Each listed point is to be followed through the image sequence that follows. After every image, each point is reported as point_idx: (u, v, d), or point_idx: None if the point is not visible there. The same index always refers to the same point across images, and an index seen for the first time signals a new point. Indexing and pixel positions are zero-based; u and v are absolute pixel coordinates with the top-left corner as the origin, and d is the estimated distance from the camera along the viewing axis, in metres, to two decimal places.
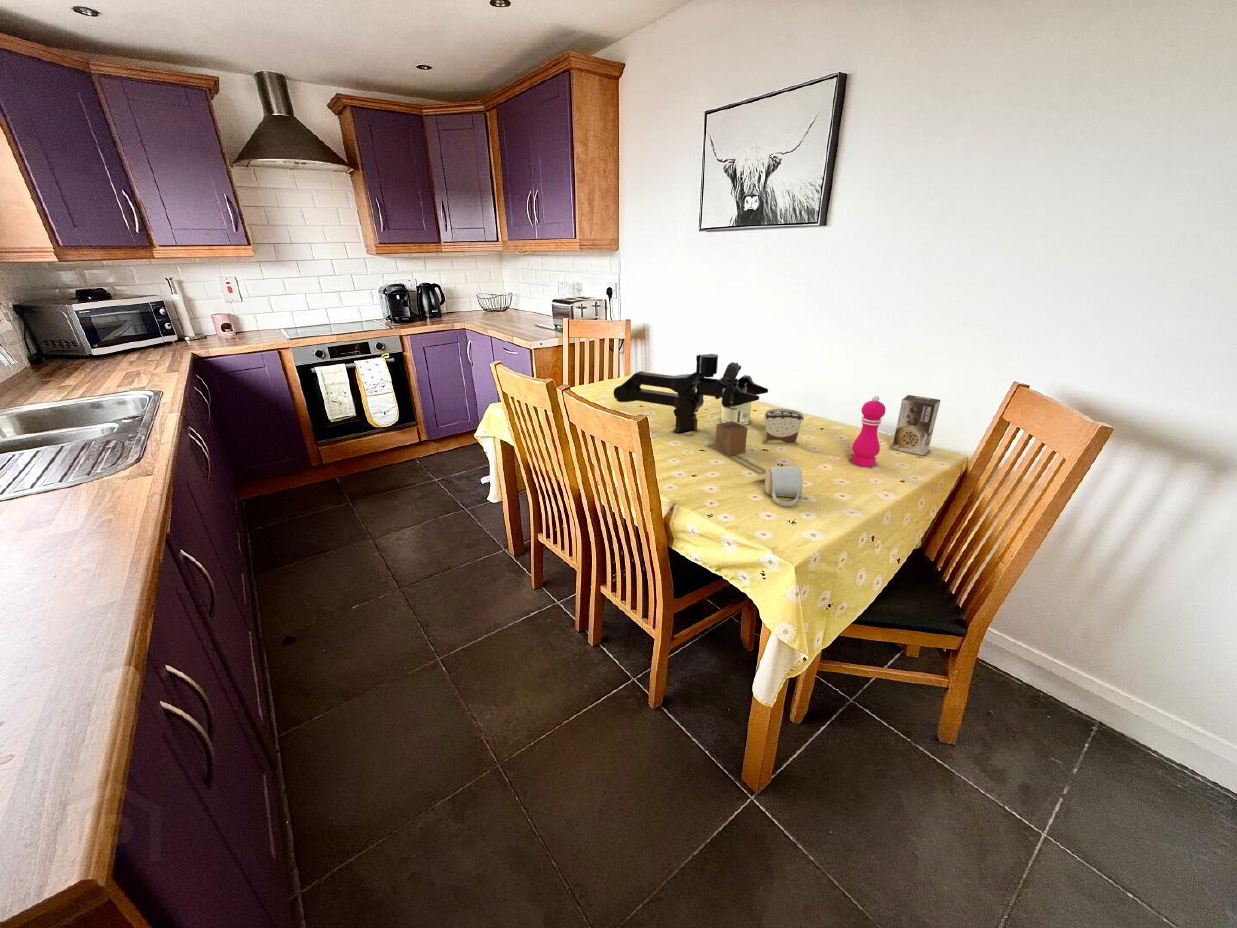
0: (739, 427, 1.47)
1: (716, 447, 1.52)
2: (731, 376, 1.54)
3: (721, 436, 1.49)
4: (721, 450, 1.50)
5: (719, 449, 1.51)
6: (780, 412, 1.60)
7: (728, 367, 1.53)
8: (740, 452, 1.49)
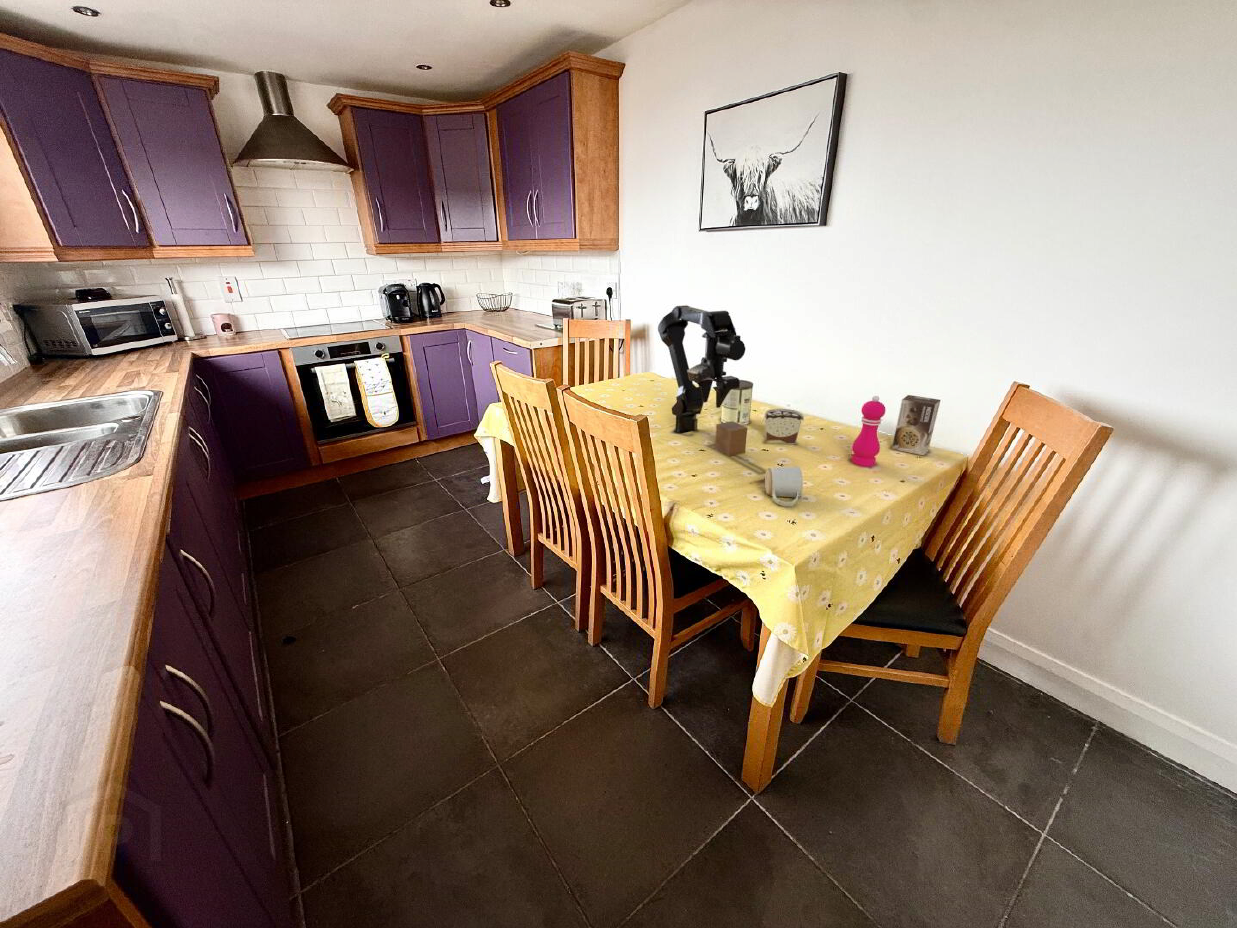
0: (739, 427, 1.47)
1: (716, 447, 1.52)
2: None
3: (721, 436, 1.49)
4: (721, 450, 1.50)
5: (719, 449, 1.51)
6: (780, 412, 1.60)
7: None
8: (740, 452, 1.49)
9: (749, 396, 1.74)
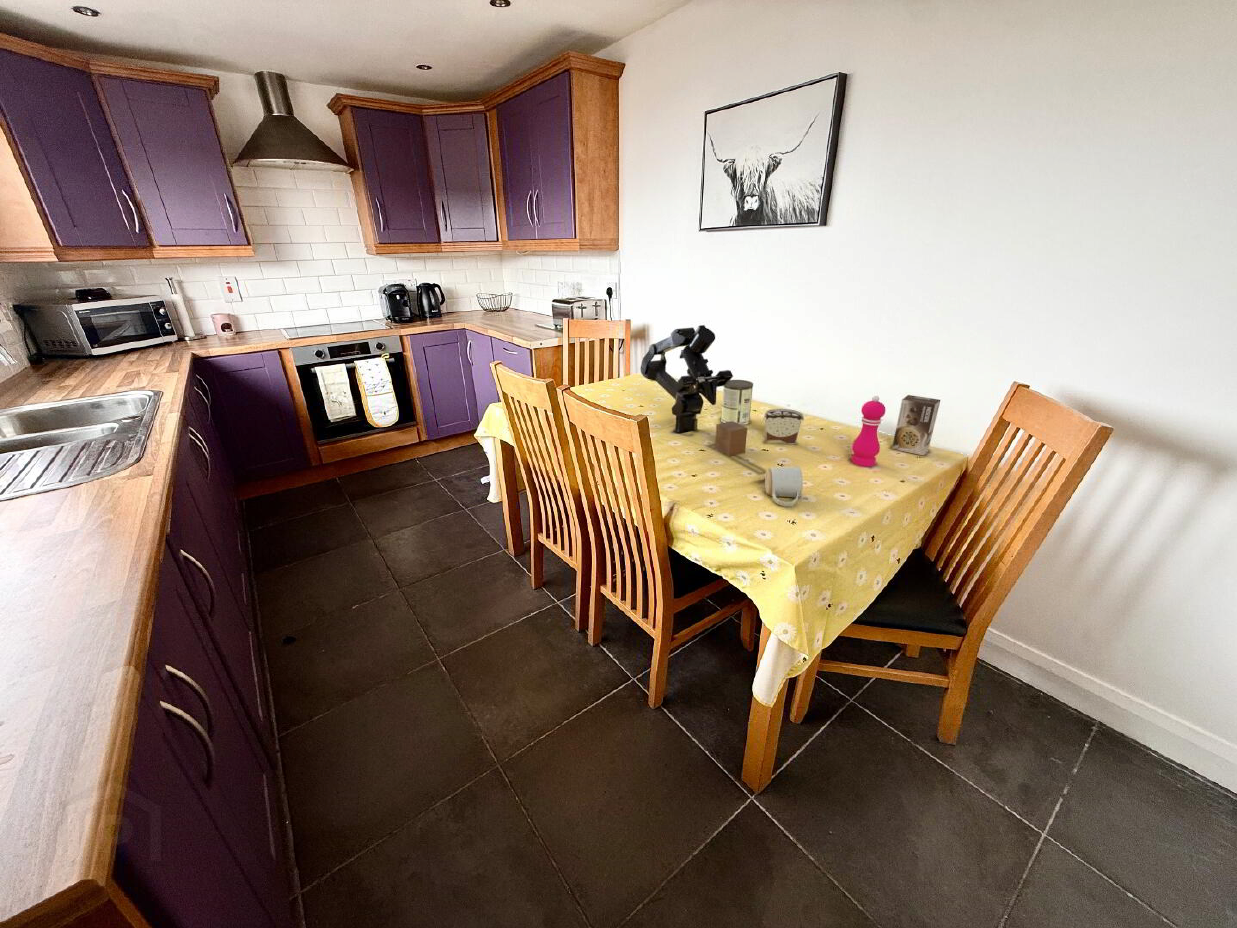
0: (739, 427, 1.47)
1: (716, 447, 1.52)
2: None
3: (721, 436, 1.49)
4: (721, 450, 1.50)
5: (719, 449, 1.51)
6: (780, 412, 1.60)
7: None
8: (740, 452, 1.49)
9: (749, 396, 1.74)
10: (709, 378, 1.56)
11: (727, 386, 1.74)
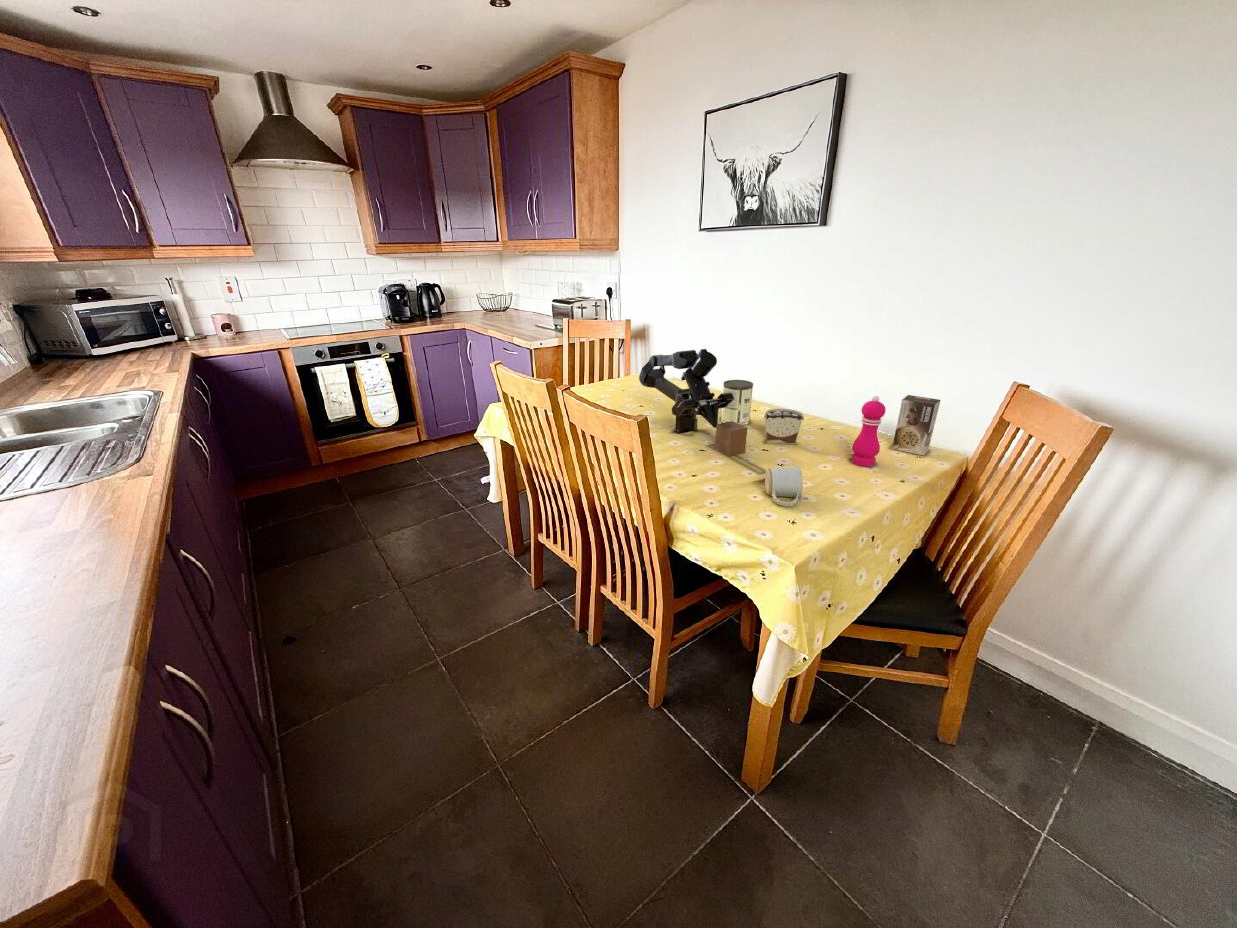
0: (739, 427, 1.47)
1: (716, 447, 1.52)
2: None
3: (721, 436, 1.49)
4: (721, 450, 1.50)
5: (719, 449, 1.51)
6: (780, 412, 1.60)
7: None
8: (740, 452, 1.49)
9: (749, 396, 1.74)
10: (711, 401, 1.58)
11: (727, 386, 1.74)
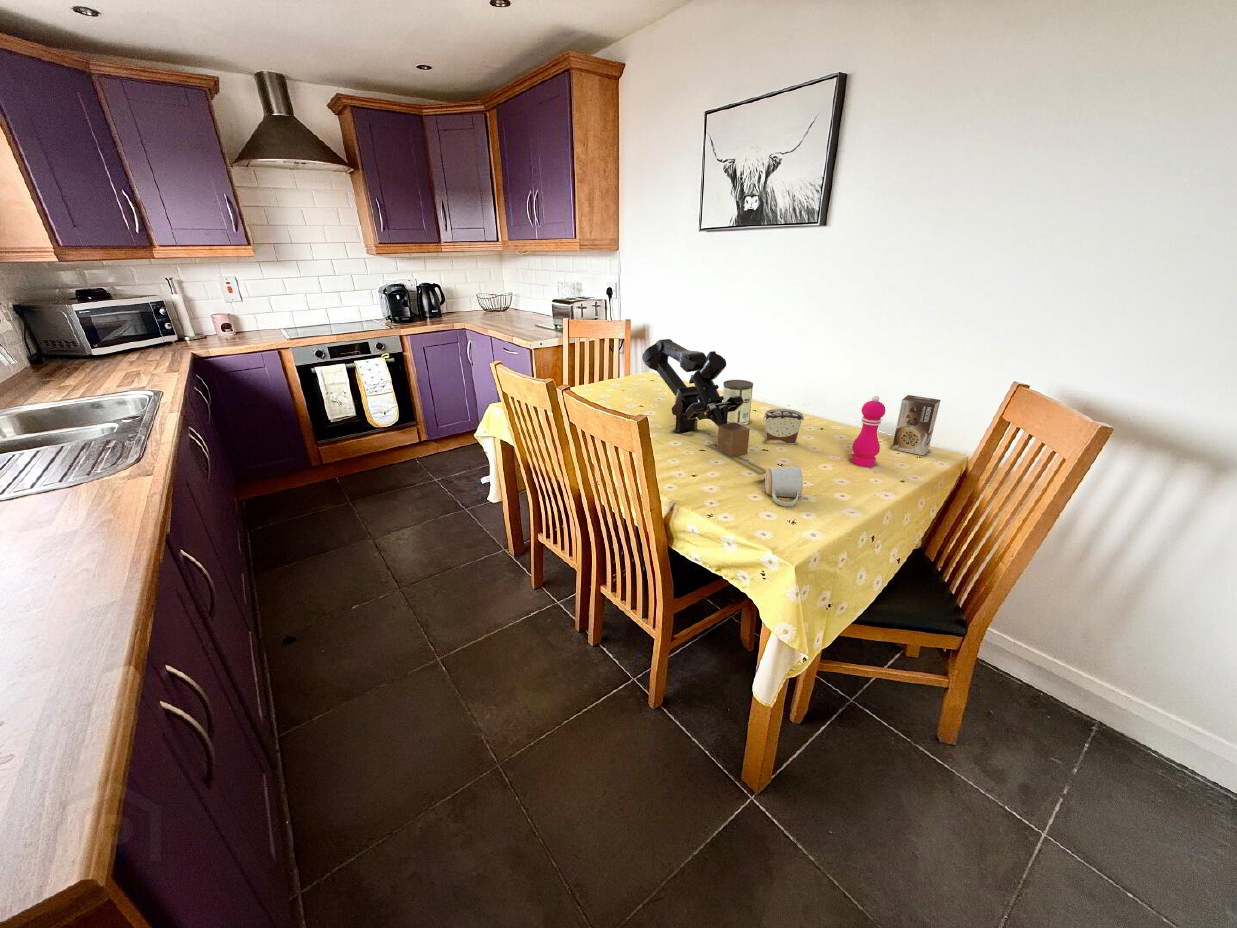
0: (741, 428, 1.46)
1: (718, 448, 1.51)
2: None
3: (723, 437, 1.48)
4: (723, 451, 1.49)
5: (721, 450, 1.50)
6: (780, 412, 1.60)
7: None
8: (742, 453, 1.48)
9: (749, 396, 1.74)
10: (720, 404, 1.54)
11: (727, 386, 1.74)
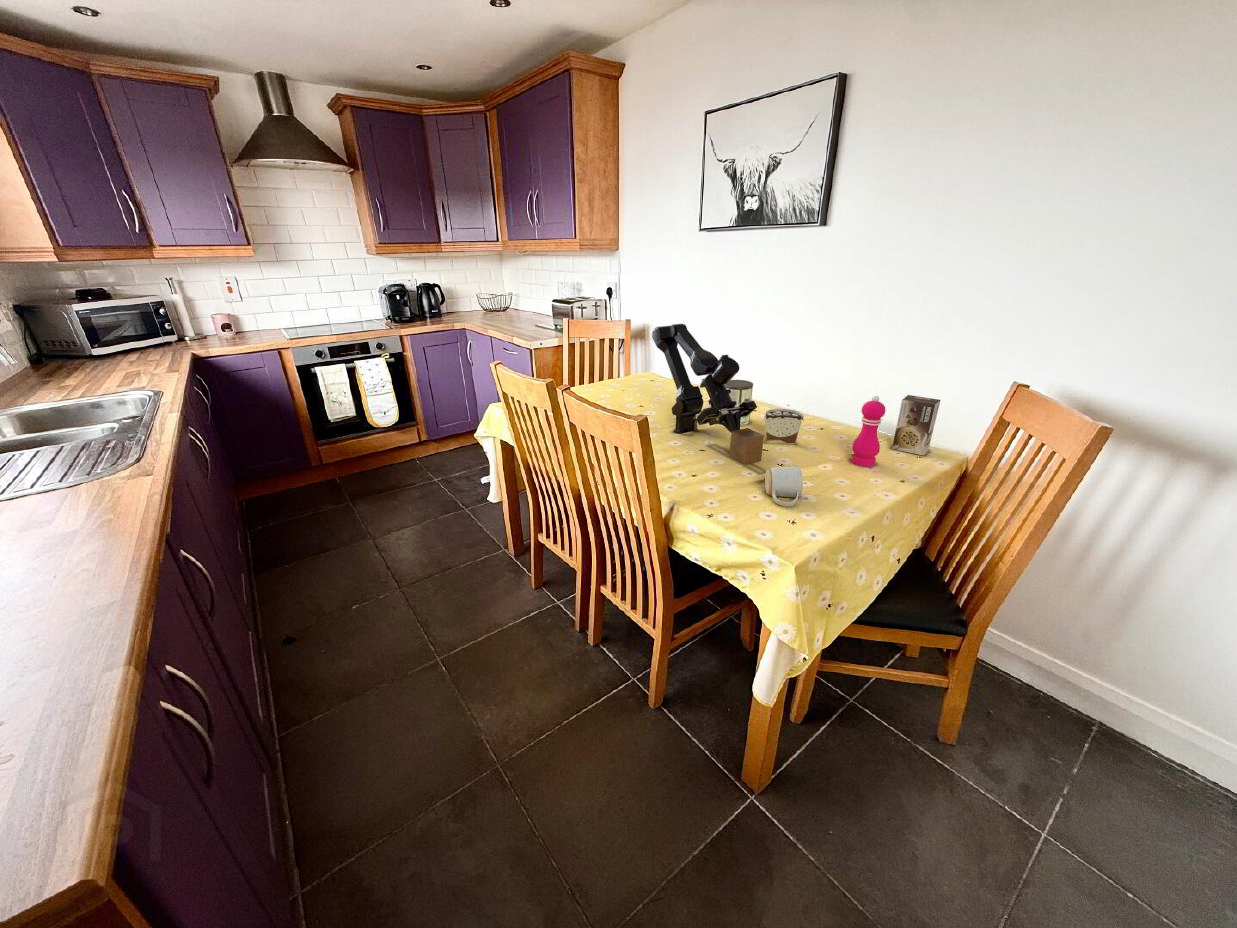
0: (755, 434, 1.41)
1: (731, 455, 1.46)
2: None
3: (736, 444, 1.43)
4: (736, 458, 1.44)
5: (734, 457, 1.45)
6: (780, 412, 1.60)
7: None
8: (756, 460, 1.43)
9: (749, 396, 1.74)
10: (732, 409, 1.49)
11: (727, 386, 1.74)
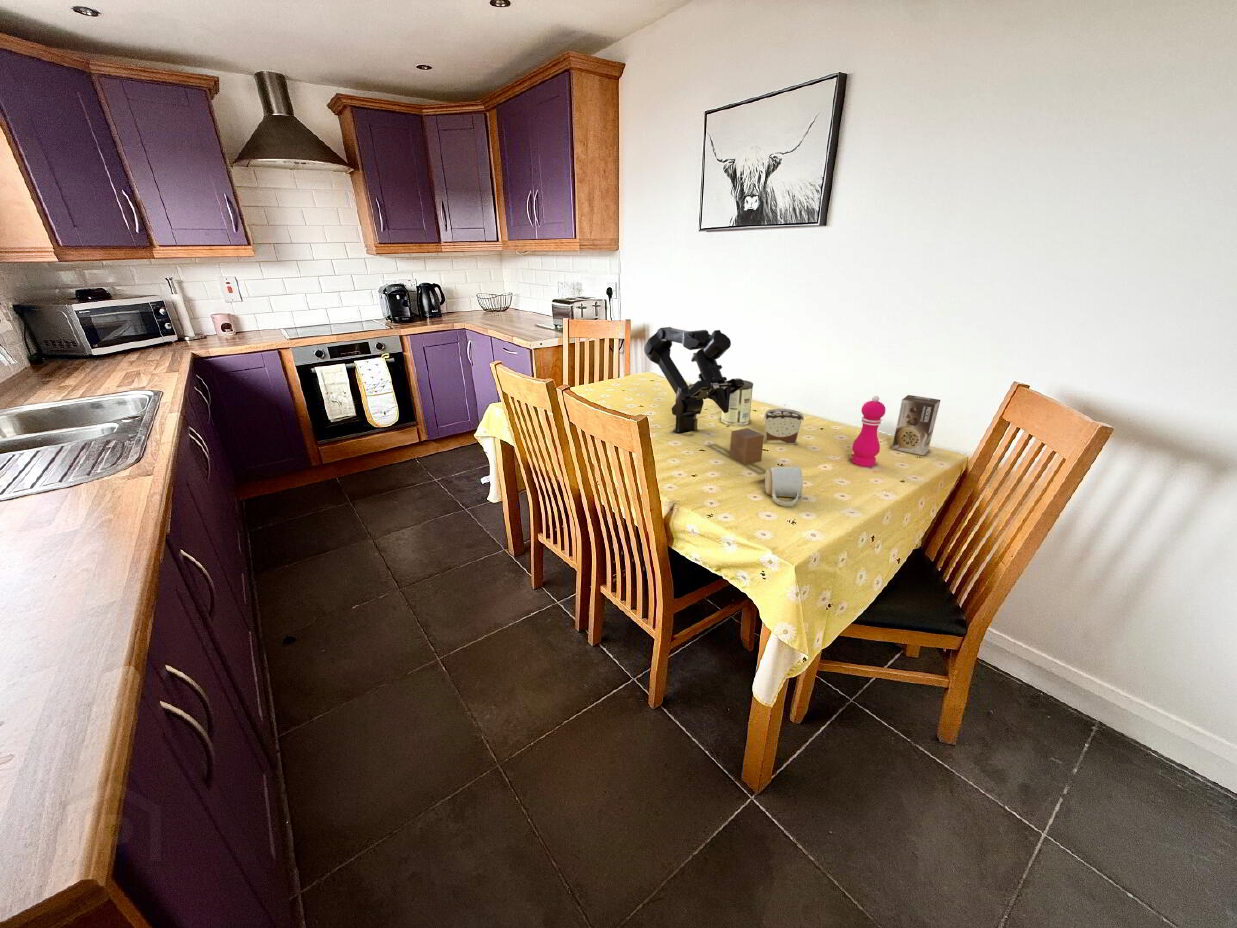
0: (755, 434, 1.41)
1: (731, 455, 1.46)
2: None
3: (736, 444, 1.43)
4: (736, 458, 1.44)
5: (734, 457, 1.45)
6: (780, 412, 1.60)
7: None
8: (756, 460, 1.43)
9: (749, 396, 1.74)
10: (722, 385, 1.52)
11: None
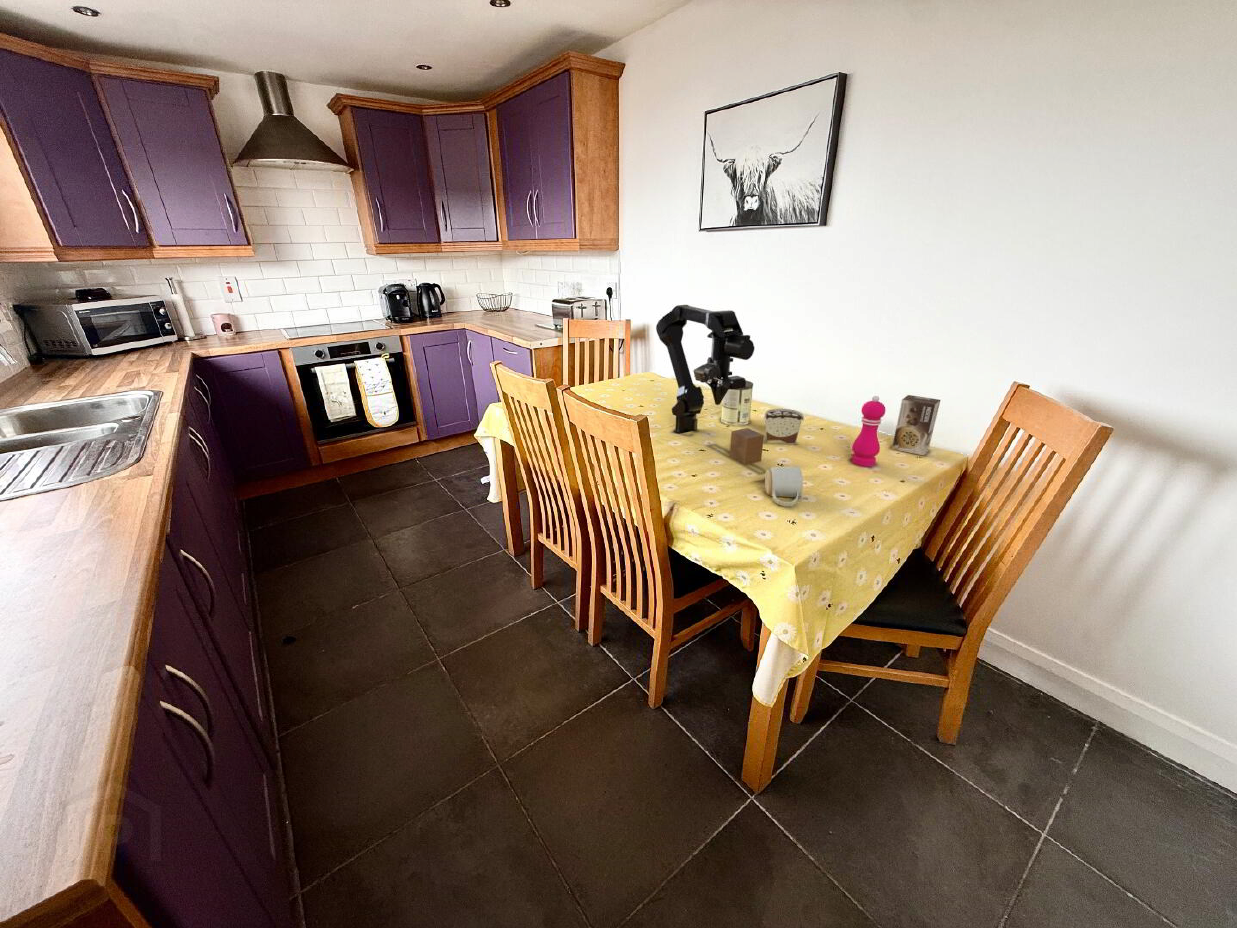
0: (755, 434, 1.41)
1: (731, 455, 1.46)
2: None
3: (736, 444, 1.43)
4: (736, 458, 1.44)
5: (734, 457, 1.45)
6: (780, 412, 1.60)
7: None
8: (756, 460, 1.43)
9: (749, 396, 1.74)
10: None
11: None
